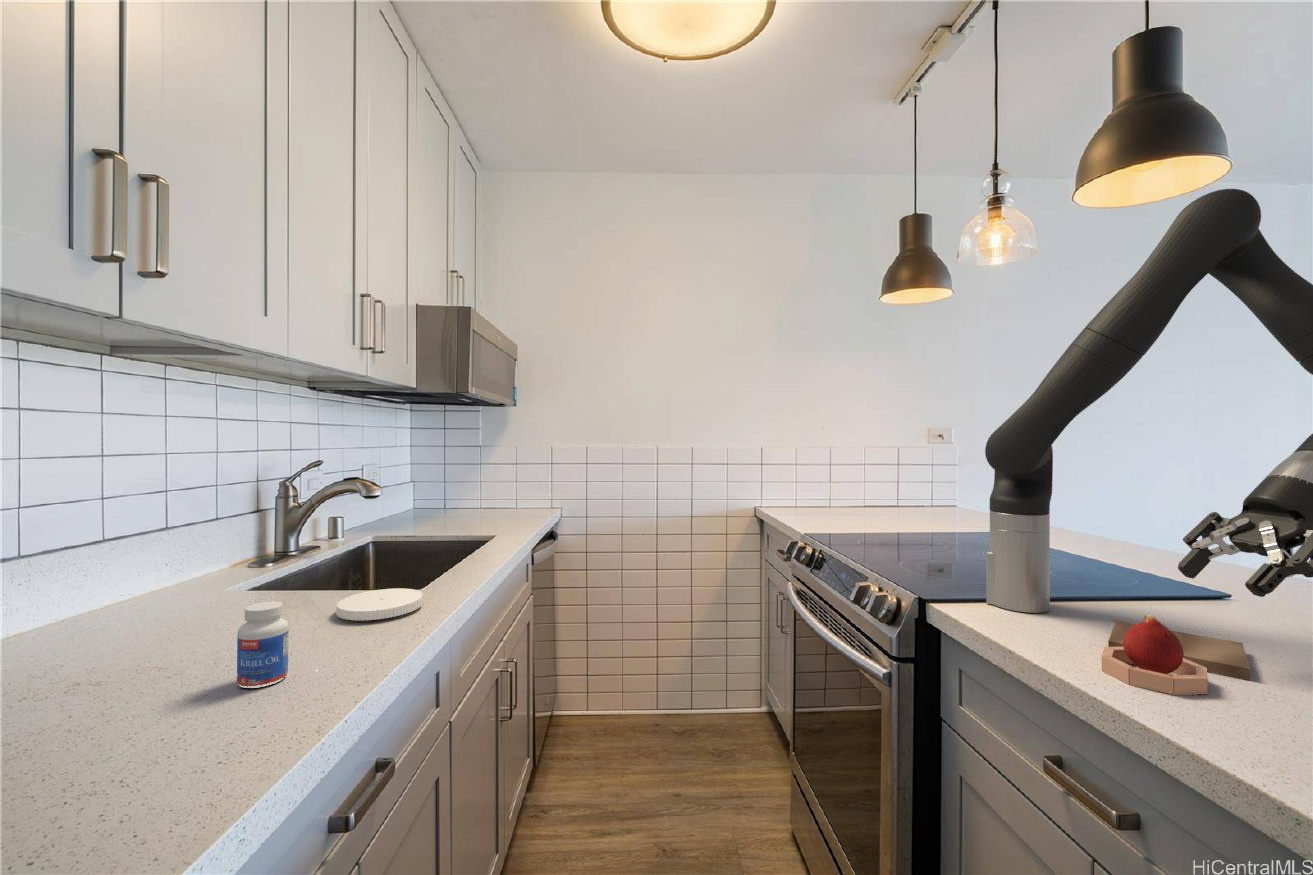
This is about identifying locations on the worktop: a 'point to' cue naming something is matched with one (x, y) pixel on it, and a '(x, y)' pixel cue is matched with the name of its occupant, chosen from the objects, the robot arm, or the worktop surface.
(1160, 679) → the ring holder
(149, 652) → the worktop surface
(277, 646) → the pill bottle
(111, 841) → the worktop surface
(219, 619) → the worktop surface
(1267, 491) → the robot arm
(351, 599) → the plastic lid
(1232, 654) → the walnut board
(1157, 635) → the onion
